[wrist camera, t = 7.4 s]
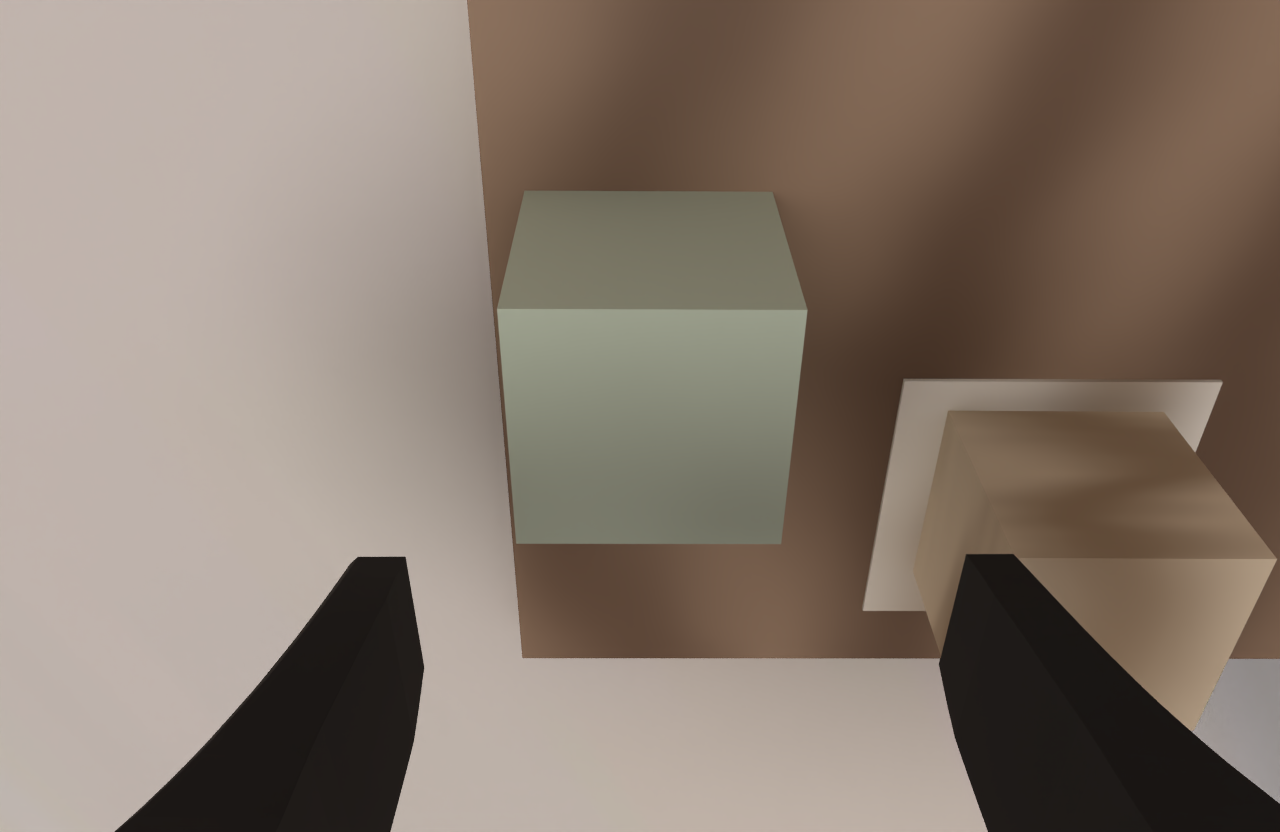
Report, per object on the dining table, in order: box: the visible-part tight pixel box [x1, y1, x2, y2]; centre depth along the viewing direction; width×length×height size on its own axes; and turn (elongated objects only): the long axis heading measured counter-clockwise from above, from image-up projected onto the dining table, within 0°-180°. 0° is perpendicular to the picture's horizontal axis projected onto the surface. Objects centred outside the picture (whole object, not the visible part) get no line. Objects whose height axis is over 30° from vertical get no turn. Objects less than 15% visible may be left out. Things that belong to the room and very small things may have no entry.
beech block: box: [913, 411, 1277, 730], centre depth 20 cm, size 4×4×4 cm
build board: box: [467, 0, 1280, 659], centre depth 20 cm, size 19×20×1 cm
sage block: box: [497, 191, 807, 544], centre depth 18 cm, size 4×4×4 cm
